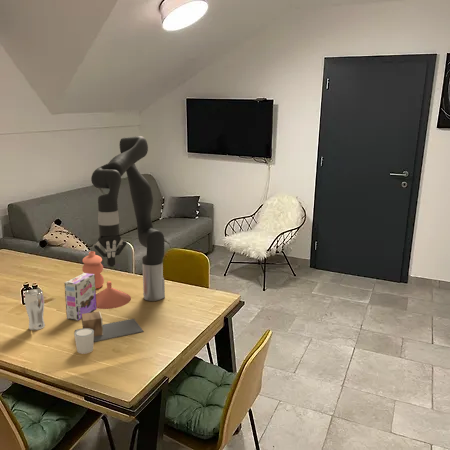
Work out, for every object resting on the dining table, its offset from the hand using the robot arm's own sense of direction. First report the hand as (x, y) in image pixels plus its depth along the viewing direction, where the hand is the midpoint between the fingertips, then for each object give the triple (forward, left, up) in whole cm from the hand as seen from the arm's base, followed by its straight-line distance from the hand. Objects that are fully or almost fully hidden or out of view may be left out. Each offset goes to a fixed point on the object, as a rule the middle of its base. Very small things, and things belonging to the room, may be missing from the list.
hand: (111, 266), depth 172 cm
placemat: (+2, 0, -27) cm, 27 cm away
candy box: (+8, -22, -27) cm, 36 cm away
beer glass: (+27, -17, -27) cm, 42 cm away
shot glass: (+13, +11, -27) cm, 32 cm away
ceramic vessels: (-5, -39, -27) cm, 48 cm away
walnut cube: (+5, -1, -23) cm, 23 cm away
